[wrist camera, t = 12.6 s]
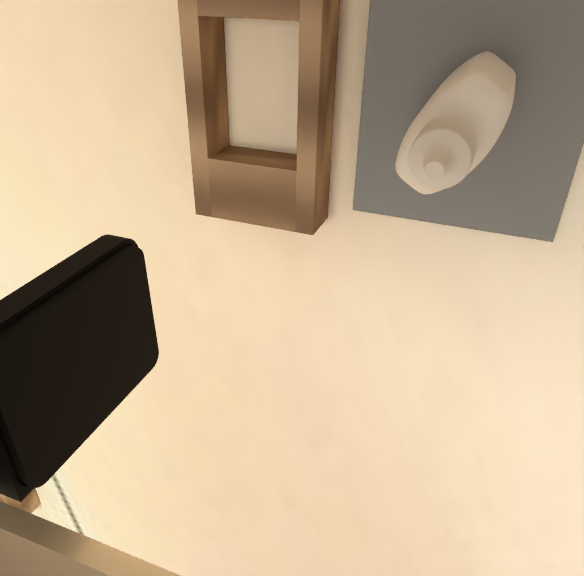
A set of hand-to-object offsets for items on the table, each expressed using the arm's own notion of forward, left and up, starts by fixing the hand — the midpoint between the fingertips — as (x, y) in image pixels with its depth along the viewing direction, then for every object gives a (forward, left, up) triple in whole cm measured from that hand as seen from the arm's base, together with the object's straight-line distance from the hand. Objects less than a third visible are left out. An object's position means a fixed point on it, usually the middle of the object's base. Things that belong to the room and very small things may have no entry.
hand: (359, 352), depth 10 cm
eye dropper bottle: (0, 0, -24) cm, 24 cm away
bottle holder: (0, -12, -24) cm, 27 cm away
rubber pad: (0, 0, -24) cm, 24 cm away
